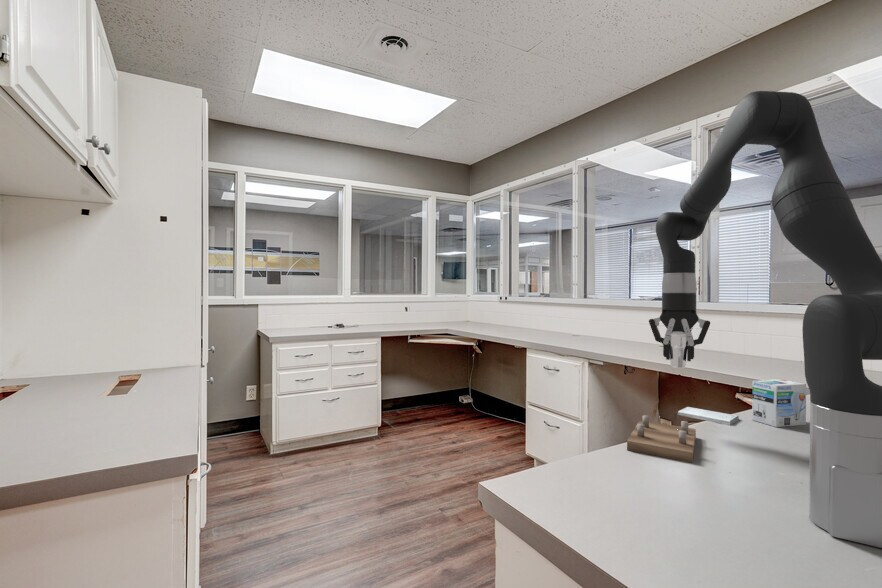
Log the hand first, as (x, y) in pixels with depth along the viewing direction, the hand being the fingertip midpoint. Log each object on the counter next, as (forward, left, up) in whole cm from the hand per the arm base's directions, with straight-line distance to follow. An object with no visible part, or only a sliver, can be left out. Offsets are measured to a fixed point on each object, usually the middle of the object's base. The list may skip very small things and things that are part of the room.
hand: (678, 359), depth 106 cm
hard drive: (+16, -6, -18) cm, 25 cm away
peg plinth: (-15, +2, -17) cm, 23 cm away
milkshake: (0, 0, -2) cm, 2 cm away
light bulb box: (+21, -22, -17) cm, 35 cm away
